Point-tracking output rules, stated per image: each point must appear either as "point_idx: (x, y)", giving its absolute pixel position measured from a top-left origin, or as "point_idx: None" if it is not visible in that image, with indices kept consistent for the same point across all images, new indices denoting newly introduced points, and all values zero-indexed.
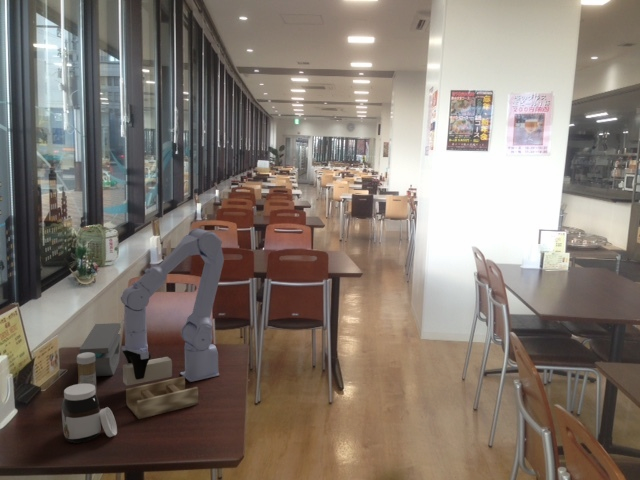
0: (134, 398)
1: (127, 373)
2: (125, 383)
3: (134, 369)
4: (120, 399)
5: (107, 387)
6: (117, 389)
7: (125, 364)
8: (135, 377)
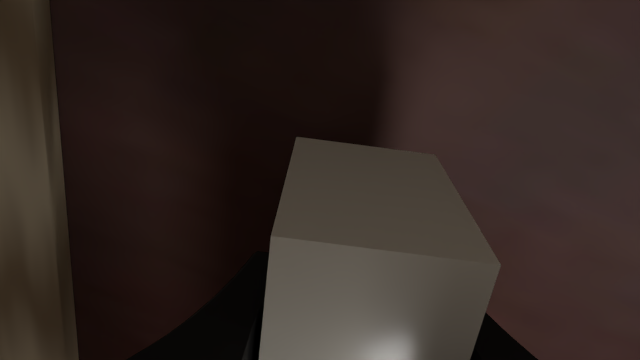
0: None
1: (280, 205)
2: (349, 146)
3: (208, 313)
4: (216, 6)
5: (591, 34)
6: (466, 89)
7: (473, 300)
8: None
